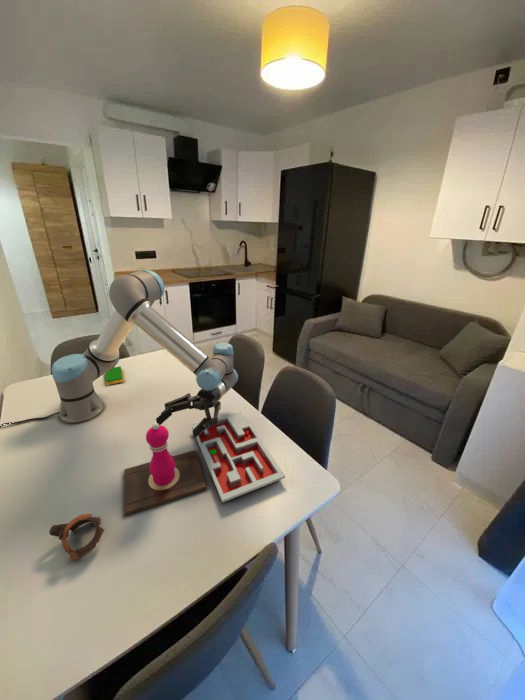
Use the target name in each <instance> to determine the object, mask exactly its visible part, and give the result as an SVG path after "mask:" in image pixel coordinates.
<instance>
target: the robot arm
mask: <svg viewBox="0 0 525 700" xmlns="http://www.w3.org/2000/svg"><path fill="white" fill-rule="evenodd" d="M164 294H165V285H164V281H163V279H162V278H161V276H160V275H159V274H158V273H156V272H155V271H153V270H151V269H140V270H137V271H134V272H130V273H127V274H123V275H119V276H117V277H116V278H114V279H113V281H112V282H111V283H110V285H109V289H108V297H109V300H110V303H111V305H112V307H113V308H114V311H113V312H112V314H111V316H110V318H109V319H108V321H107V322H106V324H105V326H104V328H103V329H102V330H101V333H100V335H99V336H98V338H97V339H94V340H92V341H91V342H90V343H89V344H88V347H87V348H86V350H85V351H84V352H83V353H72V354H68V355H64V356H62V357H60V358H58V359H57V360H56V361H54V362H53V364H52V366H51V373H52V379H53V381H54V383H55V386H56V389H57V390H56V391H57V393H58V396H59V398H60V404H59V411H57V412H53V413H51V414H49V415H47V416H43V417H32V418H28V419H27V418H26V419H22V420H19V421H10V422H4V423H1V424H0V425H2V426H0V428H2V427H3V426H5V425H3V424H7V425H6V426H8V425H17V424H23V423H26V422H30V421H37V420H38V421H39V420H40V421H41V420H45V419H46V420H47V419H49V418H51V417H54V416H56V415H59V418H60V420H61V422H64V423H67V424H79V423H84V422H87V421H89V420H92V419H94V418H96V417H97V416H98V415H100V414H101V412H103V410H104V407H105V405H104V402H103V400H102V399H101V397H100V396H99V395H98V394H97V392H96V391H95V388H94V387H95V386H94V383H93V382H94V381H96V380H97V379H99V378H100V377H102V376H103V375H106V372H107V371H109V370H111V369H113V368H114V367H117V365H118V363H119V362H120V350H119V349H120V348H121V346H122V345H123V343H124V342H125V340H126V338H127V337H128V335H129V334H130V333H131V331H132V329H133V328H134V326H135V325H136V326H137V327H138V328H139V329H140V330H142V331H143V332H144V333H145V334H146V335H148V336H149V337H150V338H151V339H152V340H154V341H155V342H156V343H157V344H158V345H159V346H160V347H162V348H163V349H165V350H166V351H167V352H168V353H169V354H170V355H171V356H172V357H174V358H175V359H176V360H177V361H179V362H180V363H181V364H182V365H183V366H184V367H185V368H187V370H189V371H190V372H191V373H193V374H194V375H195V377H196V378H195V382H196V383H197V386H198V387H199V388H200V390H198V392H197V394H196V395H191V393H186V394H185V395H182V396H180V397H178V398H175V399H173V400H170V401H168V402H165V403H164V410H163V411H161V413H160V415H158V416H157V417H156V418H155V423H158V424H159V425H161V426H162V425H163V423H164V422H166V421H167V420H168V419H169V418H171V416H172V415H173V414H174V413H177V412H181V411H184V410H193V409H195V410H199V411H204V414H205V417H204V418H202V420H201V421H199V422H198V423H199V424H198V425H197V426H196V427H195V428H194V429H192V437H193V438H195V439H196V437H197V436H198V435H199V433H200V432H201V431H202V430H206V429H207V427H208V426H209V425H211V424H214V425H217V424H218V418H219V413H220V410H221V409H222V404H221V401H220V400H221V399H222V398H223V397H224V396H225V395H226V394H227V393H228V392H229V391H230V390H231V389H232V388H233V387H234V386H235V385H236V383H237V382H238V381H239V374H238V372H237V370H236V369H235V368H234V355H235V353H234V347H233V345H232V344H231V343H228V342H218V343H216V344H214V345H213V347H212V356H211V357H210V356H208V355H207V354H206V353H205V352H204V351H202V350H201V349H200V348H199V347H198V345H196V344H195V343H193V342H192V341H191V340H190V339H189V338H187V337H186V336H185V335H184V334H183V333H182V332H181V331H179V330H178V329H177V328H176V327H175V326H174V325H173V324H172V323H171V322H169V321H168V320H167V319H166V318H165V317H164V316H162V315H161V314H160V313H159V312H158V311H157V310H155V309H154V308H153V307H152V306H153V305H154V303H155V302H156V301H158V300H160V299H161V298H162V297H163V296H164ZM211 408H213V409H214V410H213V417H212V415H211V412H210V409H211ZM12 422H14V423H12ZM9 423H11V424H9Z"/></svg>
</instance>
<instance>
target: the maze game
mask: <svg viewBox="0 0 525 700" xmlns="http://www.w3.org/2000/svg"><path fill="white" fill-rule="evenodd" d="M199 423H200V422H197V423H193V424H191V428H192V430H193V429H194V428H195V427H196V426H197V425H198V424H199ZM195 439H196V441H197V445H198V446H199V448H200V449H199V450H200V451H201V453H202V456H203V458H204V462H205V463H206V466H207V468H208V471H209V473H210V476H211V478H212V480H213V482H214V485H215V488H216V490H217V493H218V495H219V498H220V499H221V500H220V501H221V503H222V504H223V503H225V502H228V501H230V500H233V499H235V498H238V497H241V496H242V495H246V494H247V493H250V492H253V491H255V490H259V489H260V488H262V487H266V486H268V485H270V484H272V483H275V482H278V481H280V480H284V479H285V478H286V475H285V473H284V472H283V470H282V469H281V468H280V466H279V465H278V463H277V462H276V461H275V458H274V457H273V456H272V454H271V453H270V452H269V450H268V449H267V447H266V446H265V445H264V443H263V441H262V439H261V438H260V437H259V436H258V434H257V433H256V431H255V430H254V428H253V427H252V425H251V424H250V423H249V421H248V420H247V419H246V417H245V415H244V414H243V413H242V411H238V412H234V413H230V414H226V415H223V416H218V424H217V425H214V424H211V425H209V426H208V427H207V429H206V430H202V431H201V432H200V433H199V435H198V436H197V437H196V438H195Z"/></svg>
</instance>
